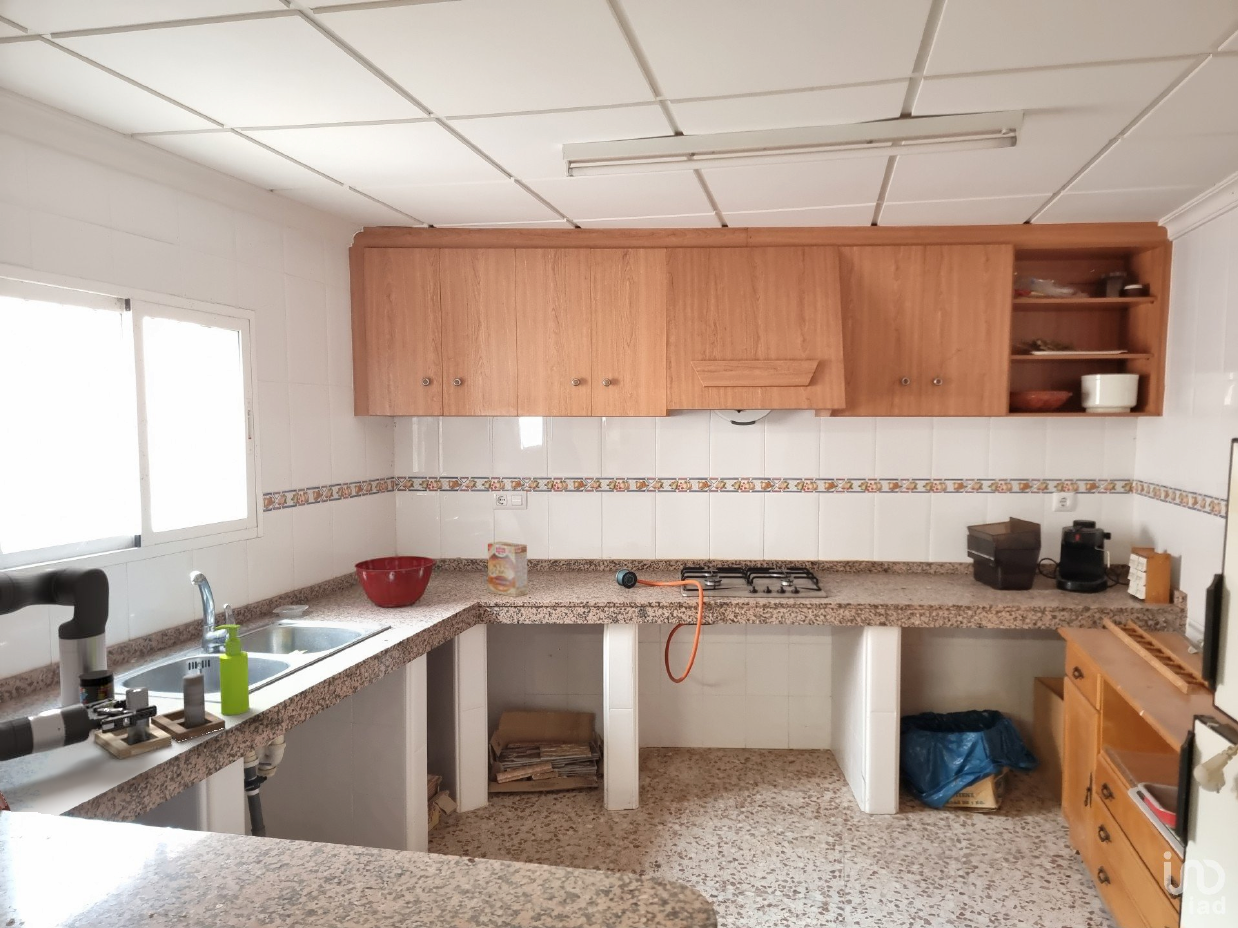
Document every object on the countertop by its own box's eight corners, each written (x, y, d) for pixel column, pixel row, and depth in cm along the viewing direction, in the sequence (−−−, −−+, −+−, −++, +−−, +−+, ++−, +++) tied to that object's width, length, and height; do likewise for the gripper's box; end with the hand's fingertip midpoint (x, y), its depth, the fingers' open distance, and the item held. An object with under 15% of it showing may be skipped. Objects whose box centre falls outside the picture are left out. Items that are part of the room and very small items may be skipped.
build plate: (94, 740, 170) (94, 731, 170) (143, 727, 177) (143, 718, 177) (120, 758, 160) (120, 750, 160) (171, 744, 168) (171, 735, 168)
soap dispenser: (225, 705, 190) (222, 622, 189) (253, 706, 190) (251, 622, 189) (211, 714, 185) (208, 628, 183) (241, 715, 184) (238, 628, 183)
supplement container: (95, 713, 186) (93, 669, 185) (122, 714, 185) (121, 670, 185) (72, 724, 179) (70, 678, 178) (101, 725, 178) (99, 679, 178)
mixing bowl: (400, 615, 278) (399, 571, 278) (338, 608, 290) (337, 565, 290) (450, 599, 304) (450, 558, 303) (391, 593, 316) (390, 553, 315)
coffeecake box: (487, 592, 316) (486, 543, 315) (500, 589, 321) (500, 540, 320) (515, 597, 307) (514, 546, 306) (528, 594, 312) (527, 544, 311)
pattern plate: (151, 725, 178) (149, 671, 178) (195, 713, 186) (194, 661, 185) (179, 741, 169) (177, 685, 168) (225, 728, 176) (223, 674, 176)
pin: (124, 747, 166) (122, 690, 166) (145, 741, 169) (143, 685, 169) (132, 752, 164) (129, 694, 163) (153, 746, 167) (151, 689, 166)
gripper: (67, 717, 150) (161, 694, 163) (44, 701, 160) (134, 680, 172) (69, 756, 151) (162, 731, 163) (45, 738, 160) (135, 715, 172)
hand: (148, 705), depth 168 cm, fingers open, 8 cm apart
